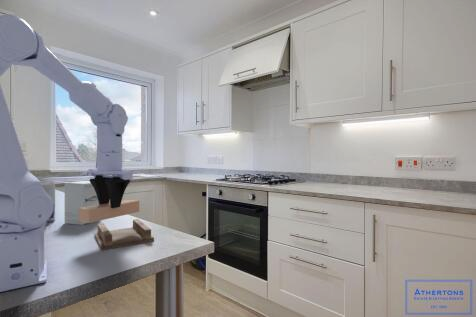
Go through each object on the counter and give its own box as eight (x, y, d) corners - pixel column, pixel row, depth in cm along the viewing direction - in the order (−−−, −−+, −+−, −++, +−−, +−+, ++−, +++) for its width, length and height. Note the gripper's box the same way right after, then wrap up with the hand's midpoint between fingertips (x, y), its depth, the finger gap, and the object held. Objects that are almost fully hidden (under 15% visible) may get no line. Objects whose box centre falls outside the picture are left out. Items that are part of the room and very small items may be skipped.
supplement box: (83, 225, 80) (83, 183, 80) (63, 223, 82) (63, 182, 81) (101, 219, 87) (101, 181, 87) (83, 217, 89) (83, 180, 89)
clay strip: (88, 223, 60) (88, 209, 60) (78, 220, 62) (78, 208, 62) (139, 211, 72) (139, 200, 72) (129, 210, 74) (129, 199, 74)
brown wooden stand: (153, 240, 67) (154, 228, 67) (101, 250, 60) (101, 237, 60) (140, 228, 77) (141, 218, 77) (94, 236, 70) (94, 224, 70)
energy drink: (30, 224, 80) (30, 184, 80) (38, 219, 85) (38, 182, 85) (51, 223, 82) (51, 184, 81) (57, 218, 87) (57, 182, 87)
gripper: (142, 152, 66) (142, 206, 67) (106, 151, 73) (106, 200, 74) (117, 152, 60) (117, 212, 61) (80, 151, 67) (80, 205, 68)
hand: (109, 206), depth 67 cm, fingers closed on clay strip, 4 cm apart
